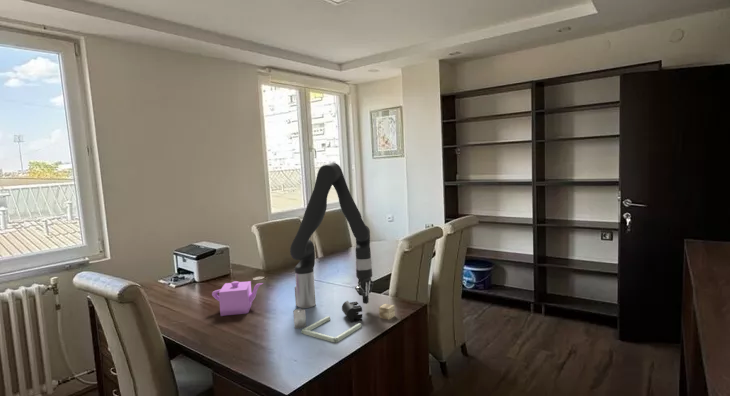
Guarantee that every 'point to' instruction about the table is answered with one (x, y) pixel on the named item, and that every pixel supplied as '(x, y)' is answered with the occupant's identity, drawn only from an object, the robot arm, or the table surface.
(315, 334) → the pale green frame
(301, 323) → the grey metal tin
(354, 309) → the end cap
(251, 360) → the table surface
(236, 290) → the teapot
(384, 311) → the maple block
